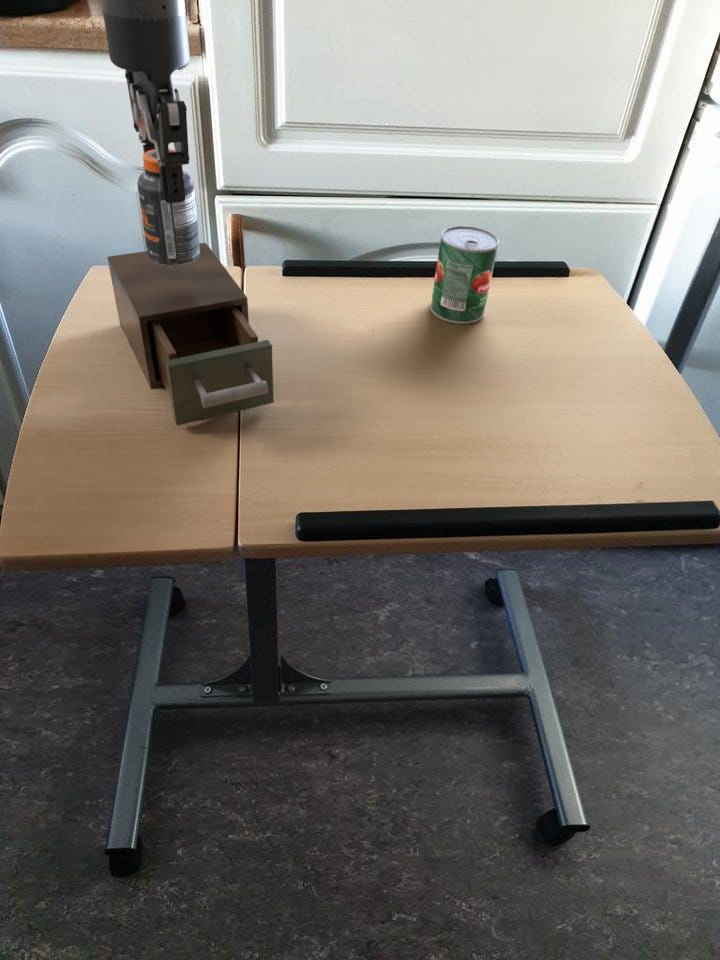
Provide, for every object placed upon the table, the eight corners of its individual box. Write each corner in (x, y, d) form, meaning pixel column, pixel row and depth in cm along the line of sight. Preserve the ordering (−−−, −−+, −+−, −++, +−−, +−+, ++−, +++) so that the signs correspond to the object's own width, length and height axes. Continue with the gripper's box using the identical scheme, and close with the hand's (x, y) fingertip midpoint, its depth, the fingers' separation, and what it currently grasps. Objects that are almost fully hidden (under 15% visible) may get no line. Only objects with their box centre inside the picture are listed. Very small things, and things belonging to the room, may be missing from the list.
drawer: (287, 424, 79) (287, 365, 74) (188, 449, 75) (180, 389, 69) (231, 340, 91) (227, 284, 86) (143, 357, 87) (133, 300, 81)
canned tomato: (427, 296, 105) (437, 223, 97) (478, 297, 105) (493, 226, 98) (434, 323, 99) (445, 249, 92) (488, 325, 100) (504, 251, 92)
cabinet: (251, 366, 88) (247, 297, 82) (150, 388, 84) (138, 316, 77) (211, 308, 98) (205, 242, 92) (119, 324, 94) (107, 256, 87)
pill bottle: (142, 248, 82) (127, 146, 75) (192, 242, 85) (182, 142, 77) (154, 270, 79) (139, 165, 71) (206, 263, 81) (197, 160, 73)
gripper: (207, 22, 62) (220, 211, 73) (163, -8, 71) (180, 164, 82) (121, 24, 59) (148, 220, 71) (86, -8, 68) (115, 171, 80)
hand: (166, 189), depth 76 cm, fingers closed on pill bottle, 6 cm apart
